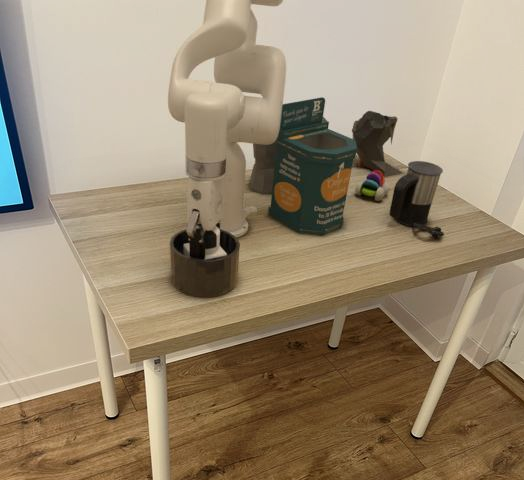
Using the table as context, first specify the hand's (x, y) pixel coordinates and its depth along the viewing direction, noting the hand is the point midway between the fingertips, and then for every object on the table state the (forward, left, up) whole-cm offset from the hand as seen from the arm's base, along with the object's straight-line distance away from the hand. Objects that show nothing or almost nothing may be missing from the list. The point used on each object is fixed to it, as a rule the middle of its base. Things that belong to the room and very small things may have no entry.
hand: (205, 247), depth 111 cm
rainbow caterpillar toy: (-68, -6, -8) cm, 69 cm away
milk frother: (-63, +14, -8) cm, 65 cm away
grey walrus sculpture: (-86, -20, -8) cm, 89 cm away
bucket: (0, 0, -8) cm, 8 cm away
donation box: (-41, -6, -8) cm, 42 cm away
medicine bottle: (0, 0, -8) cm, 8 cm away
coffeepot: (-45, -27, -8) cm, 53 cm away
